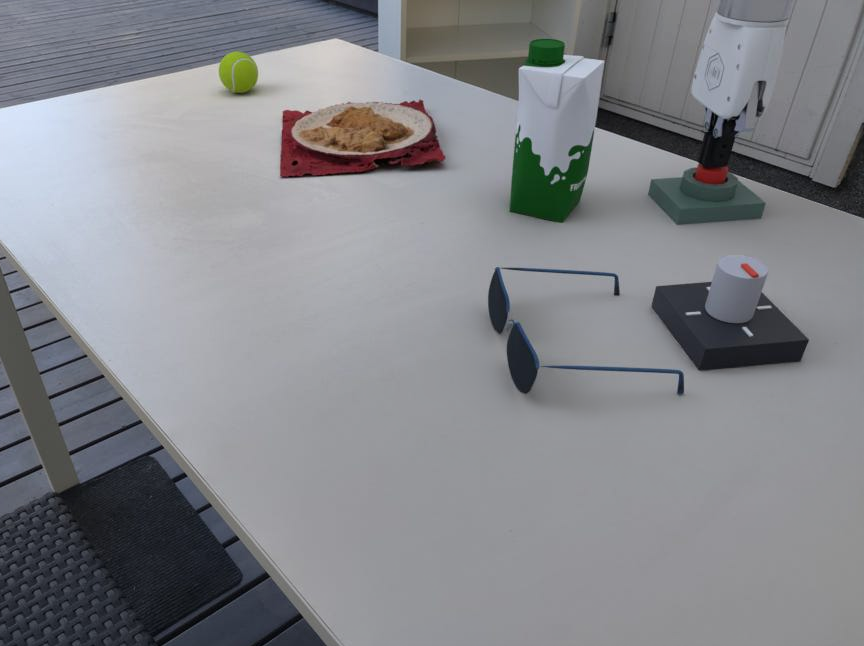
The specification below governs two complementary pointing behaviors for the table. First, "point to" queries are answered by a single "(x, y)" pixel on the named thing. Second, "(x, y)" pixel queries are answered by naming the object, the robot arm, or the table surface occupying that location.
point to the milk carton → (553, 130)
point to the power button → (711, 174)
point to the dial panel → (727, 330)
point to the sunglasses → (520, 348)
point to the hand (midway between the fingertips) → (712, 164)
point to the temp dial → (736, 288)
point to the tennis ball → (238, 72)
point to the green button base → (705, 199)
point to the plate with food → (357, 138)
